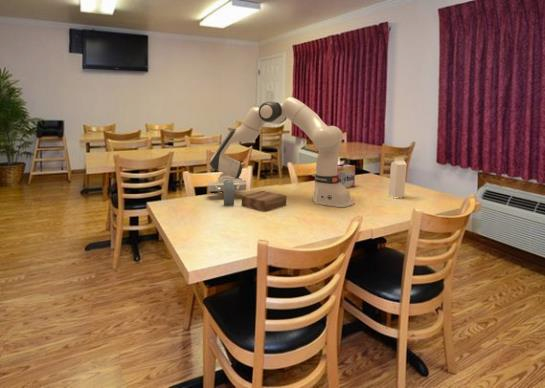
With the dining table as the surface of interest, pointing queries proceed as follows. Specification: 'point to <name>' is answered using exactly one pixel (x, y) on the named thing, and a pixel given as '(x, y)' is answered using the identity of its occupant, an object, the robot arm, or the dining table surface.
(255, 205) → the walnut base
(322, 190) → the robot arm
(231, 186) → the grey rectangular block
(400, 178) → the milk
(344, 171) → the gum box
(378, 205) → the dining table surface
